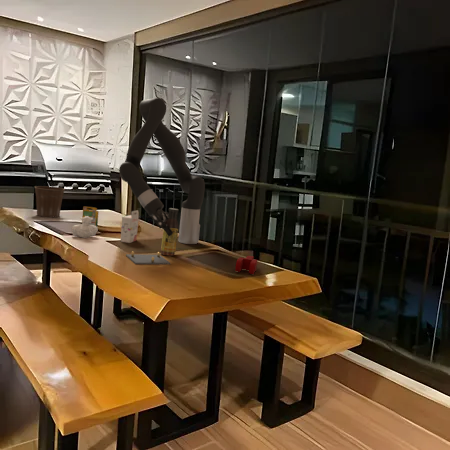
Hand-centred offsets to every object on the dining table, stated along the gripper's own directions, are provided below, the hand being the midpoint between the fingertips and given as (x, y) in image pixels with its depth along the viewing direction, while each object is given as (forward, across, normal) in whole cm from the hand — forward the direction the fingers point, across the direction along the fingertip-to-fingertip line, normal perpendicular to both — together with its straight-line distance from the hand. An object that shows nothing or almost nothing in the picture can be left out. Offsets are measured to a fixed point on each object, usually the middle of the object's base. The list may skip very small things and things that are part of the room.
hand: (174, 233), depth 197 cm
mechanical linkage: (+31, -4, -17) cm, 35 cm away
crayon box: (-32, +28, +46) cm, 63 cm away
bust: (-26, +7, +39) cm, 47 cm away
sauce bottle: (+6, 0, +8) cm, 10 cm away
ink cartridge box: (-13, +15, +26) cm, 33 cm away
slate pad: (+3, -15, +10) cm, 19 cm away
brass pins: (+4, -17, +9) cm, 19 cm away
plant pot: (-59, +48, +73) cm, 106 cm away
